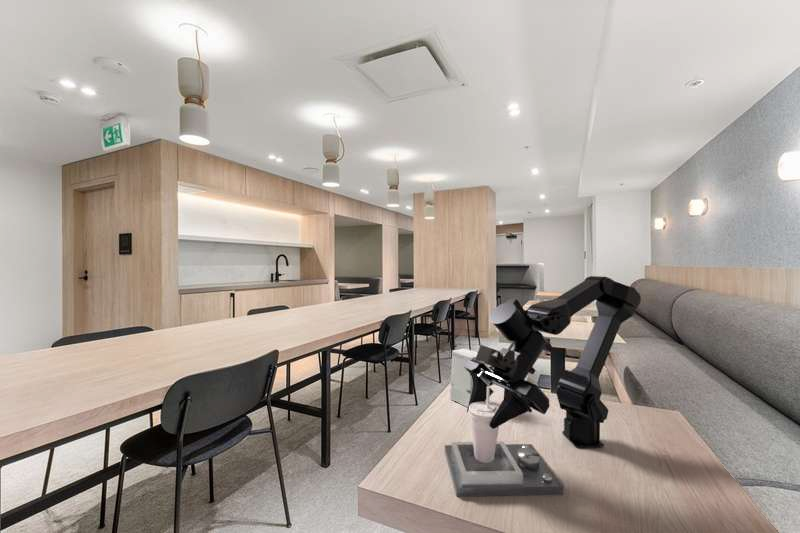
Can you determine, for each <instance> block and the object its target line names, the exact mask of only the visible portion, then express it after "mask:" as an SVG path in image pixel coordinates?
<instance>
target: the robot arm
mask: <svg viewBox="0 0 800 533" xmlns="http://www.w3.org/2000/svg"><path fill="white" fill-rule="evenodd" d="M641 299H642V297H641V294H640V293H639V292H638V291H637V289H636V288H635V287H633V286H628V285H627V284H623V283H620V282H618V281H615V280H614V279H612V278H610V277H607V276H598V275H594V276H593V275H590V276H587V277H586V278H585V279H584V281H582V282H580V283H579V284H577V285H576V286H575V285H574V287H572V288H571V289H569V290H567V291H566V292H564V293H562V294H561V295H559V296H558V297H555V298H553V299H547V300H541V301H539V302H535V303H533V304H531V305H530V306H529V307H528V308H527V309H526V310H525V309H524V307H522V305H521V303H520V302H519V300H518V299H517V298H516V299H515V298H508V300H507V301H505V302H502V303H501V304H499V305H497V306H496V307H495V308H493V309H491V311H490V314H489V321H490V322H491V324H492V325H493V326H495V328H496V329H497V330H498V332H500V334H501V335H502V336H503V337H504V338H505V340H506V341H509V342H511V344H510V345H509V347H508V348H505V347H503V348H500V350H497V349H495V348H491V347H489V346H486V345H483V344H480V345H479V348H478V351H477V352H478V353H477V356H476V360H474V359H472V360H469V361H468V362H467V363H466V365H465V366H464V368H465V369H466V370H467V371H468V372H469V373H470V376H471V377H472V380H473V388H472V393H471V397H470V401H469V405H470V404H472V403H474V402H486V401H487V386H490V396H491V395H492V394H493V393H494V392H495V391H494V390H493V389H492V388H491V386H493V384H494V385H497V386H498V387H500V388H502V389H504V390H503V400H502V401H501V403H500V405H498V406H499V408H498V410H497V411H496V413H495V415H494V416H493V418H492V420H491V422H490V425H489V426H490V427H491V428H492V429H495V428H496V427H498V426H499V427H500V426H502V425H504V424H505V423H507V422H508V421H511V420H512V419H514V418H517V417H519V416H521V415H523V414H525V413H530V414H531V413H532V412H533V410H534V411H536V412H538V413H540V414H543V415H546V413H547V411H548V410H549V408H550V398H549V397H548V396H547V395H546V393H545V392H544V391H542V389H541V388H540V387H539V386H538V385H537V384H535V383H533V382H530V381H528V380H526V378H527V376H528V374H530V375H534V374H535V372H536V369H535V368H534V365H535V364H536V362H537V360H538V359H539V357H540V356H541V354H542V352H543V351H544V352H545V351H546V352H548V353H551V352H553V346H552V344H551V338H549V337H545V336H544V335H543V334H542V333H545V334H550V335H555V336H556V335H557V336H558V335H559V334H560V335H561V333H562V332H564V330H566V329H567V327H568V326H569V325H570V324H571V321H572V317H573V316H574V315H575V314H577V313H579V312H580V311H581V310H583V309H585V307H587V306H589V305H590V304H592V303H593V302H595V301H596V302H595V306H596V309H597V310H596V311H597V317H596V321H595V322H594V324H593V327H592V329H591V331H590V333H589V336H588V338H587V341H586V343H585V345H584V347H583V350H582V351H581V355H580V357H579V359H578V362H577V364H576V366H575V367H574V368H573V369H571V370H568V369H564V370H563V371H562V373H561V377H560V378H559V381H558V382H557V383H556V385H557V387H556V391H555V393H556V396H557V401H558V404H559V408H560V409H561V410H564V411H565V417H564V419H563V431H562V434H563V437H565V438H567V440H568V441H569V442H570V443H571V444H572V445H573V446H574V447H575V448H605V444H604V442H602V441H601V424H603V423H605V420H607V419H608V414H609V409H608V407H607V406H606V405H605V404H604V403H603V401H602V400H601V397H602V388H601V383H600V379H599V378H600V377H601V373H602V371H603V369H604V366H605V364H606V362H607V360H608V357H609V355H610V351H611V350H612V349H611V348H612V346H613V344H614V342H615V339H616V336H617V334H618V332H619V329H620V327H621V325H622V323H625V321H627V320H629V319H630V318H631V317H633V316H634V315H635V312H636V311H637V309H638V307H639V305H640V304H641V301H642V300H641ZM477 360H478V361H477ZM479 361H483V362H485V364H484V363H482V362H479ZM469 405H468V408H467V410H466V412H467V413H468V414H469V412H468V410H469Z"/></svg>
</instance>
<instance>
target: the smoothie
mask: <svg viewBox="0 0 800 533" xmlns="http://www.w3.org/2000/svg"><path fill="white" fill-rule="evenodd" d="M490 388H491V386H487V399H486V401H485V402H474V403H472V404H470V405H469V410H468V412H469V413H468V412H467V413H468V414H469V415H470V416H469V417H470V425H471V435H472V436H471V437H472V442H473V446H474V456H475V458H476V459H477V460H478V461H481V462H485V463H488V462H492V461H493V460H494V454H495V448H496V442H498V441H497V440H498V435H499V429H500V428H499V427H500V426H498V427H496V428H495V429H492V428H491V427H490V426H489V425H490V422H491V420H492V418H493V416H494V415H495V413H496V411H497V410H498V408H499V406H500V405H497V404H495V403H492V402H490V398H491V395H490Z"/></svg>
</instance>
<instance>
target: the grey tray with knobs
mask: <svg viewBox="0 0 800 533" xmlns="http://www.w3.org/2000/svg"><path fill="white" fill-rule="evenodd" d="M444 455H445V459H446V462H447V465H448V469H449V472H450V476H451V481H452V484H453V488H454V491H455V495H456V497H499V496H500V497H501V496H502V497H503V496H506V497H507V496H512V497H513V496H557V495H558V496H561V495H564V486H563V484H562V483H561V480H559V479H558V477H557V476H556V475H555V474H554V472H553V471H552V469H551V468H550V466H548V464H547V462H546V461H545V460H544V459H543V458H542V456H541V455H540V453H539V452H538V451H537V450H536V448H535V447H534V445H533V444H532V443H522V444H521V443H517V444H514V443H513V444H512V443H510V444H507V443H505V442H504V441H497V442H496V448H495V454H494V460H493V461H492V462H488V463H485V462H481V461H478V460H477V459H476V458H475V456H474V446H473V441H451V444H447V445H446V444H444Z"/></svg>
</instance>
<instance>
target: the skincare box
mask: <svg viewBox="0 0 800 533" xmlns="http://www.w3.org/2000/svg"><path fill="white" fill-rule="evenodd" d="M477 353H478V351H475V350H472V349H468V348H459V349H453V350H451V369H450V370H451V373H450V394H449V399H451V401H452V400H453V401H452V402H455V401H456V402H455V403H457V402H458V403H457V404H459V403H460V405H461V406H463V407H466V408H467V407H468V405H469V401H470V397H471V393H472V388H473V380H472V377H471V376H470V373H469V372H468V371H467V370H466V369H465V368H464V366H465V365H466V363H467V362H468V361H469V360H472V359H474V360H476V356H477ZM477 361H478V360H477ZM479 362H482V363H484V364H485V362H483V361H479ZM485 365H486V364H485Z"/></svg>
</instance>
